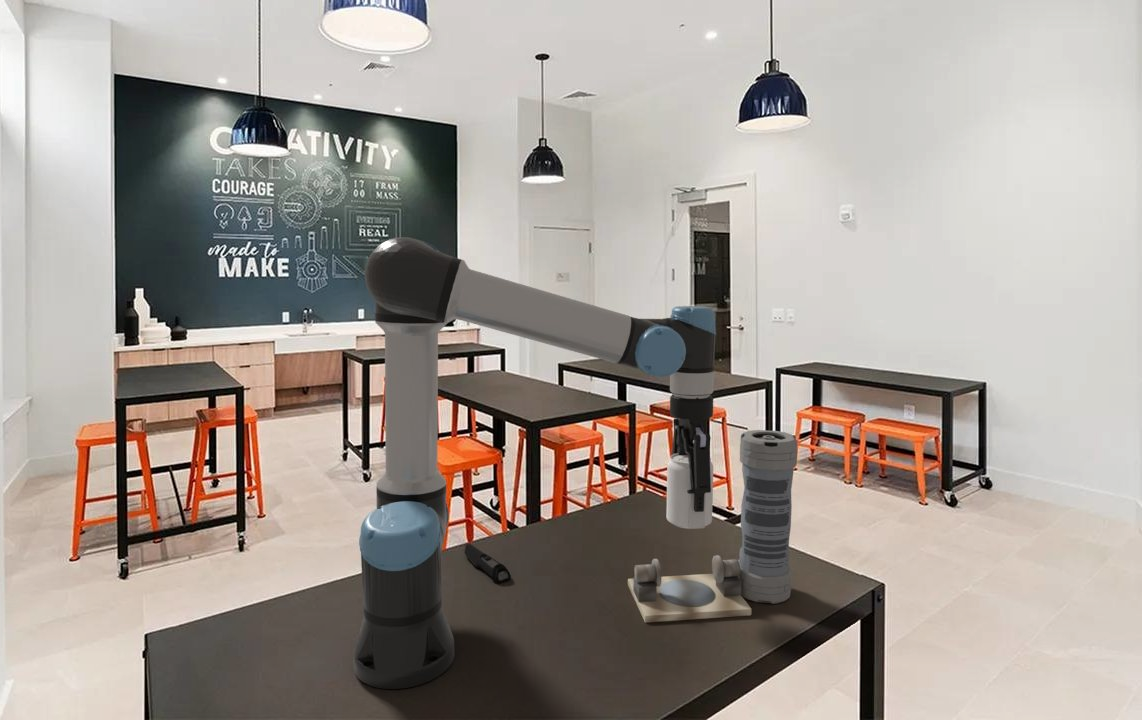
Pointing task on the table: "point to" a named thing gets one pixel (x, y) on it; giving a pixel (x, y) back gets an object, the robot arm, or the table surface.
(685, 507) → the beverage can
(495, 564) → the electric trimmer
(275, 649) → the table surface
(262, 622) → the table surface
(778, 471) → the canister
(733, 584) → the cradle
